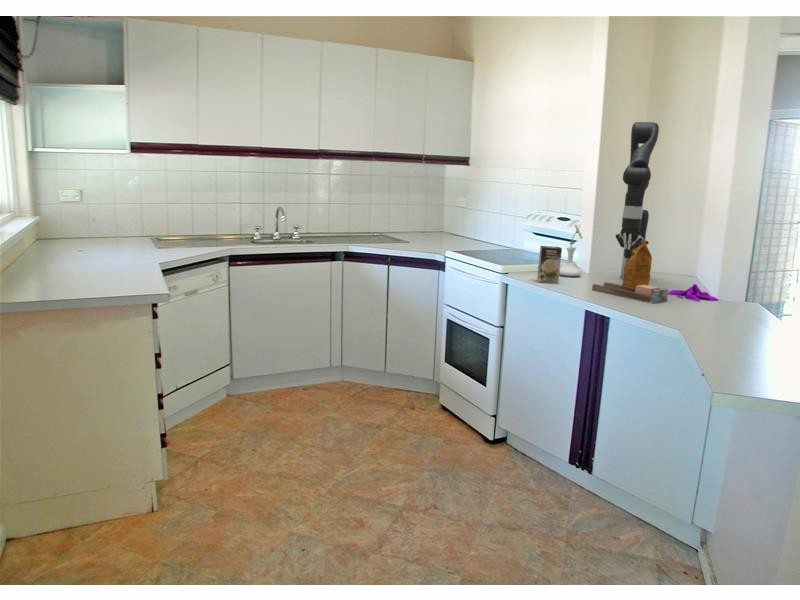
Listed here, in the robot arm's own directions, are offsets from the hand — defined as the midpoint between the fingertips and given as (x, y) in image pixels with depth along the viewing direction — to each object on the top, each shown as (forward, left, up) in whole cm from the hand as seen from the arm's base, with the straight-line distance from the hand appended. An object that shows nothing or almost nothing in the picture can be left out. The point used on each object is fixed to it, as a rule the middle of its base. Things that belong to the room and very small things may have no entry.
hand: (627, 258), depth 271 cm
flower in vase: (-15, -40, -16) cm, 46 cm away
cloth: (-23, +19, -16) cm, 34 cm away
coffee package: (-18, -6, -16) cm, 25 cm away
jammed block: (0, +11, -16) cm, 19 cm away
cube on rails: (0, +2, -16) cm, 16 cm away
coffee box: (+8, -34, -16) cm, 39 cm away
